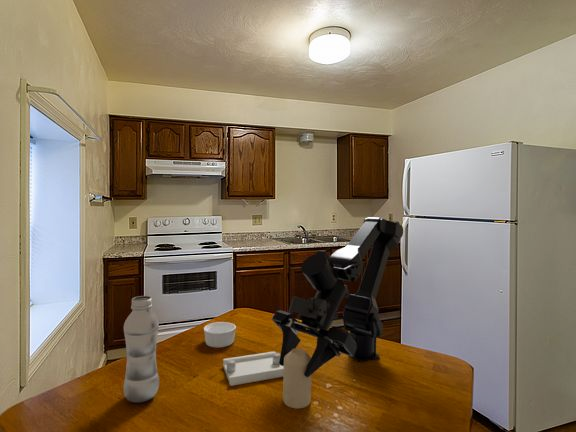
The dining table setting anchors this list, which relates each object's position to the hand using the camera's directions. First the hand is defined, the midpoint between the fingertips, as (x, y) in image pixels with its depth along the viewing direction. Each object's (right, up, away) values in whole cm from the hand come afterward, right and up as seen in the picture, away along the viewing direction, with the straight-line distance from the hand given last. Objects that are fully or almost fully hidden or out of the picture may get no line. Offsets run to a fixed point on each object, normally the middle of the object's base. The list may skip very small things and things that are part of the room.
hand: (292, 370), depth 64 cm
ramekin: (-20, -6, +29) cm, 35 cm away
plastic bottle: (-30, -6, +1) cm, 31 cm away
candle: (+1, -7, +1) cm, 7 cm away
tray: (-9, -6, +13) cm, 17 cm away
